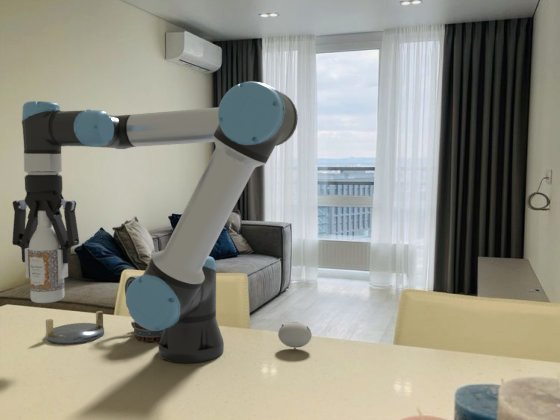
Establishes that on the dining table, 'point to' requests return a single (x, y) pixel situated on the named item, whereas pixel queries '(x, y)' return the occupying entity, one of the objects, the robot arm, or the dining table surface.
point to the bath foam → (44, 263)
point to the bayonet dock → (75, 332)
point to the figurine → (294, 334)
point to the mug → (138, 330)
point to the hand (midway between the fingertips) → (47, 277)
